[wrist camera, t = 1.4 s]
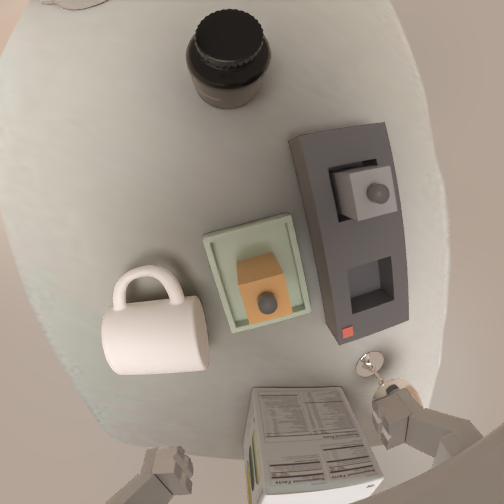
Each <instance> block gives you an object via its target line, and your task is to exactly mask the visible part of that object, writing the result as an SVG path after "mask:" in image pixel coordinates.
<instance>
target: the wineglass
mask: <svg viewBox="0 0 504 504" xmlns="http://www.w3.org/2000/svg"><path fill="white" fill-rule="evenodd" d="M383 362H384V357H383V355H382V354H381V353H380V352H376V351H374V352H370V353H367V354H365V355H364V356H363V357H361V359H360V360H359V361H358V363H357V365H356V372H357V374H358V375H360V376H362V377H368V376H371V375H373V374H375V375H376V377H377V379H378V382H379V385H380V386H379V387H378V389H377V390H376V391H375V393H374V395H373V399H372V402H373V400H376V399H378V398H381V397H383V396H386V395H388V394H390V393H393V392H395V391H398V390H400V389H402V388H407V389H408V391H409V392H410V393H411V394H412V396H413V397H414V398H415V399H416V401H417V402H418V403H419V405H420V406H421V407H422V408H423V405H422V402H421V399H420V397H419V395H418V393H417V391H416V389H415V388H414V387H413V385H412V384H411V383H409V382H408V381H406V380H404V379H400V378H396V379H391V380H388V381H386V380H385V379H383V378H382V377H381V376H380V375H379V374H378V372H377V371H378V370H379V369H380V368H381V367H382V365H383ZM423 409H424V408H423ZM373 411H374V409H373Z"/></svg>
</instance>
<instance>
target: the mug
mask: <svg viewBox="0 0 504 504" xmlns="http://www.w3.org/2000/svg"><path fill="white" fill-rule="evenodd" d="M145 276H150V277H154V278H156V279H157V280H159V281H160V282H161V283H162V285H163V286H164V287H165V289H166V291H167V293H168V296H169V298H170V299H162V300H153V301H144V302H135V303H126V288H127V286H128V284H129V283H130V282H131V281H132V280H134V279H136V278H140V277H145ZM101 336H102V345H103V350H104V354H105V357H106V359H107V361H108V363H109V365H110V367H111V368H112V369H113V371H115V372H116V373H117V374H120V375H138V374H160V373H176V372H189V371H201V370H206V369H207V368H208V365H209V342H208V333H207V326H206V321H205V316H204V311H203V308H202V305H201V302H200V300H199V298H198V297H197V296H187V297H184V294H183V291H182V288H181V286H180V284H179V282H178V281H177V279H176V278H175V276H174V275H173V274H172V273H171V272H170V271H168V270H167V269H165V268H163V267H160V266H155V265H146V266H141V267H137V268H134V269H132V270H130V271H128V272H126V273H125V274H124V275H123V276H121V277H120V279H119V280H118V281H117V283H116V285H115V287H114V291H113V305H111V306H110V307H108V309H107V310H106V312H105V314H104V317H103V321H102V328H101Z"/></svg>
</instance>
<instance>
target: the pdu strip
mask: <svg viewBox="0 0 504 504" xmlns="http://www.w3.org/2000/svg"><path fill="white" fill-rule="evenodd" d="M288 142H289V146H290V149H291V153H292V157H293V162H294V166H295V170H296V174H297V178H298V182H299V187H300V191H301V195H302V200H303V204H304V209H305V213H306V218H307V223H308V227H309V232H310V237H311V242H312V247H313V252H314V257H315V262H316V267H317V273H318V278H319V284H320V289H321V295H322V301H323V306H324V312H325V319H326V324H327V326H328V328H329V329H330V331H331V333H332V334H333V336H334V338H335V339H336V341H337V342H338V344H339V345H342V344H345V343H348V342H351V341H354V340H357V339H360V338H362V337H365V336H368V335H371V334H374V333H376V332H379V331H382V330H384V329H387V328H390V327H392V326H395V325H397V324H400V323H402V322H405V321H407V320H409V302H408V276H407V260H406V248H405V237H404V228H403V219H402V211H401V204H400V197H399V191H398V184H397V178H396V173H395V167H394V162H393V157H392V152H391V147H390V143H389V138H388V134H387V129H386V125H385V122H383V123H374V124H367V125H360V126H353V127H346V128H340V129H334V130H328V131H322V132H316V133H311V134H306V135H301V136H298V137H296V138H294V139H292V140H290V141H288ZM353 166H390V168H391V173H392V179H393V185H394V191H395V197H396V204H397V211H395V212H391V213H388V214H384V215H380V216H376V217H372V218H368V219H365V220H361V221H357V220H354V219H352V218H349V217H347V216H345V215H342V214H340V213H337V211H336V206H335V201H334V196H333V191H332V186H331V182H330V177H329V171H334V170H339V169H344V168H349V167H353Z"/></svg>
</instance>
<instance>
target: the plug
mask: <svg viewBox="0 0 504 504" xmlns="http://www.w3.org/2000/svg"><path fill="white" fill-rule="evenodd" d="M236 266H237V278H238V287H239V290H240V293H241V297H242V300H243V304H244V307H245V310H246V314H247V317H248V321H249V324H250V325H252V324H256V323H260V322H264V321H268V320H271V319H275V318H279V317H283V316H286V315H290V314H293V311H292V307H291V302H290V298H289V293H288V289H287V285H286V280H285V276H284V273H283V271H282V269H281V267H280V265H279V263H278V261H277V259H276V257H275V256H274V254H273V252H270V253H266V254H263V255H259V256H255V257H251V258H247V259H244V260H240V261H236Z"/></svg>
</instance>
